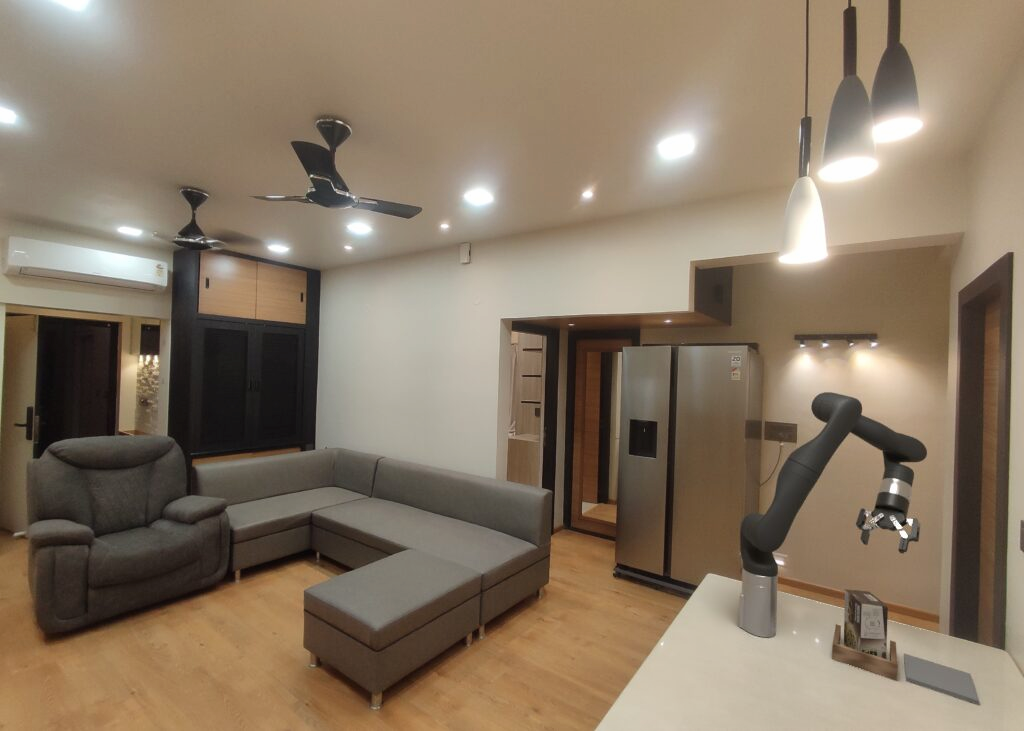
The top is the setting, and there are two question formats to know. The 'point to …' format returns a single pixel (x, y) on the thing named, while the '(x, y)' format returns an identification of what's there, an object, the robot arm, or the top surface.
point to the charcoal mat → (940, 678)
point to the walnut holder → (865, 658)
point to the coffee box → (865, 623)
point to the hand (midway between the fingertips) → (882, 547)
